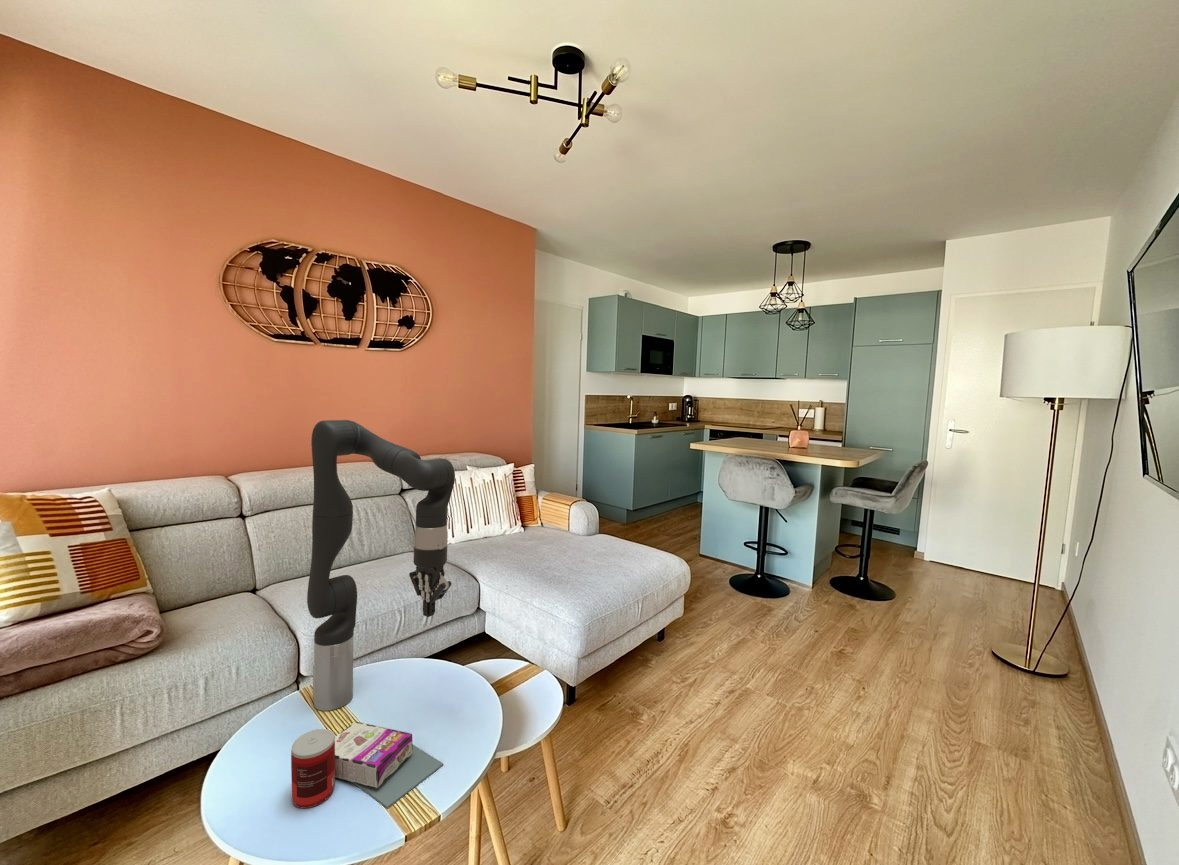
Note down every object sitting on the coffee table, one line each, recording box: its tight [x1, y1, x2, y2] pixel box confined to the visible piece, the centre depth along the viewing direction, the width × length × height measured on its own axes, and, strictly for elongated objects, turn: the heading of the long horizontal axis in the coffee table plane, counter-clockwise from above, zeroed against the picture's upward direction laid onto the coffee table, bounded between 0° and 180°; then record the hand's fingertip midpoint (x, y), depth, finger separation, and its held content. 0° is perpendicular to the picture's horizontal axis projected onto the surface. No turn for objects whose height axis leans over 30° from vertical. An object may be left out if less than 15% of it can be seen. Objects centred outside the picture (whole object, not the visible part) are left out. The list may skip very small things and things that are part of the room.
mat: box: [352, 743, 444, 809], centre depth 103 cm, size 14×14×1 cm
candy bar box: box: [334, 721, 414, 788], centre depth 104 cm, size 11×5×16 cm
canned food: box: [290, 728, 336, 809], centre depth 96 cm, size 8×8×11 cm
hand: (428, 615), depth 112 cm, fingers closed
